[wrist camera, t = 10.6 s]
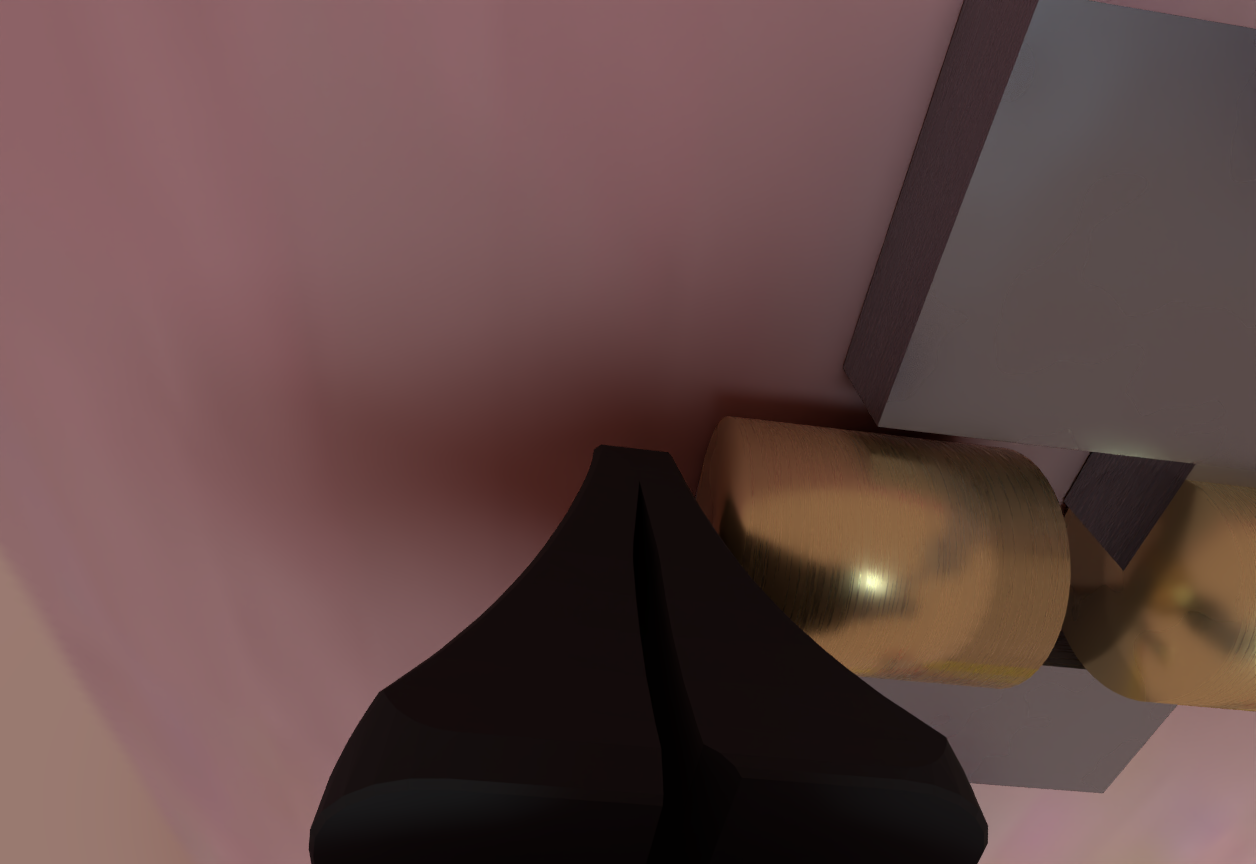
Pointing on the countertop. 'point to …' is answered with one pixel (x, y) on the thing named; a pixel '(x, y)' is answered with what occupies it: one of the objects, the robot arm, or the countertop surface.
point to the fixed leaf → (1095, 313)
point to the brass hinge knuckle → (928, 589)
